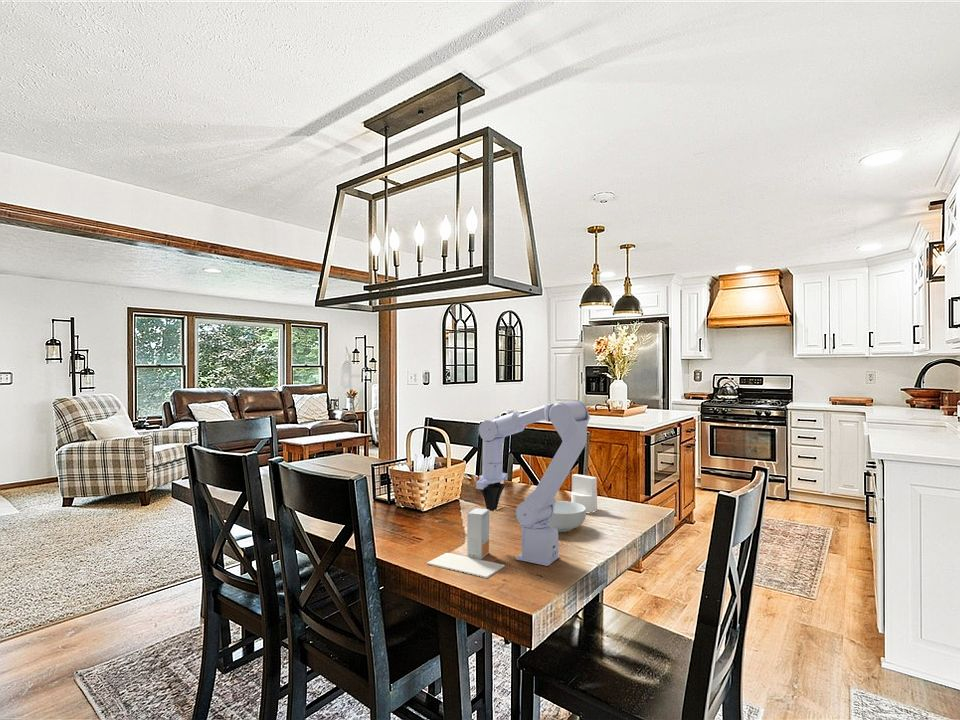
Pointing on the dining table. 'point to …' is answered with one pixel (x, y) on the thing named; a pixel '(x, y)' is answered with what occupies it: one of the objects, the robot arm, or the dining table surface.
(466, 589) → the dining table surface
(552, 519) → the cereal bowl
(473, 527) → the skincare box
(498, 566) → the white rectangular slab
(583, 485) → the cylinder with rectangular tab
